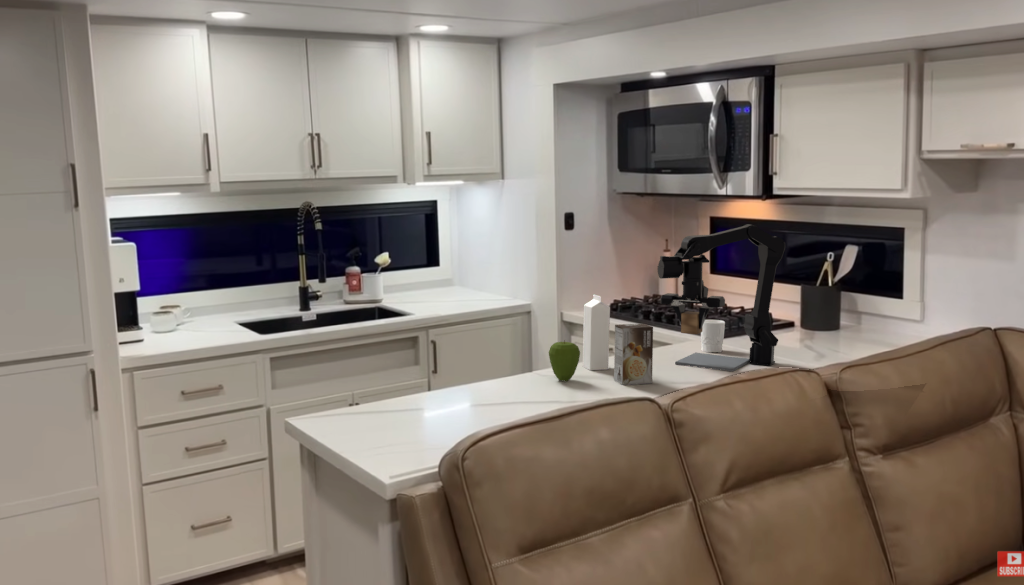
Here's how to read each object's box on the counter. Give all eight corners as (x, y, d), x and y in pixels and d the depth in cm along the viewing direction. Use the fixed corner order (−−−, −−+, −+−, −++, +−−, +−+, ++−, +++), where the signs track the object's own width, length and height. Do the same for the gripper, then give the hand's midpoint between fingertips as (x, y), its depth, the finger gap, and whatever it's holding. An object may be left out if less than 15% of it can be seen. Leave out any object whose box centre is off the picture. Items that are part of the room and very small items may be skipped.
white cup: (722, 349, 296) (723, 319, 294) (725, 353, 288) (726, 323, 287) (698, 348, 296) (699, 319, 295) (700, 352, 289) (702, 322, 287)
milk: (600, 365, 266) (602, 293, 264) (608, 369, 261) (610, 296, 258) (581, 366, 265) (584, 294, 262) (589, 370, 259) (591, 296, 256)
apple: (584, 379, 247) (585, 339, 246) (570, 385, 240) (571, 343, 239) (557, 375, 252) (557, 336, 250) (543, 381, 244) (543, 340, 243)
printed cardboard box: (643, 378, 249) (644, 323, 247) (652, 383, 243) (654, 326, 241) (613, 380, 246) (614, 324, 244) (621, 385, 240) (623, 327, 238)
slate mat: (750, 361, 275) (750, 358, 275) (732, 371, 260) (732, 368, 260) (695, 354, 285) (695, 352, 285) (675, 364, 269) (675, 361, 269)
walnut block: (702, 331, 268) (702, 312, 268) (696, 334, 264) (697, 314, 263) (686, 330, 271) (687, 311, 270) (681, 332, 267) (681, 313, 266)
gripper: (731, 276, 267) (730, 326, 269) (673, 273, 277) (672, 322, 279) (719, 280, 258) (718, 332, 260) (659, 277, 268) (659, 327, 270)
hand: (692, 328), depth 267 cm, fingers closed on walnut block, 5 cm apart
